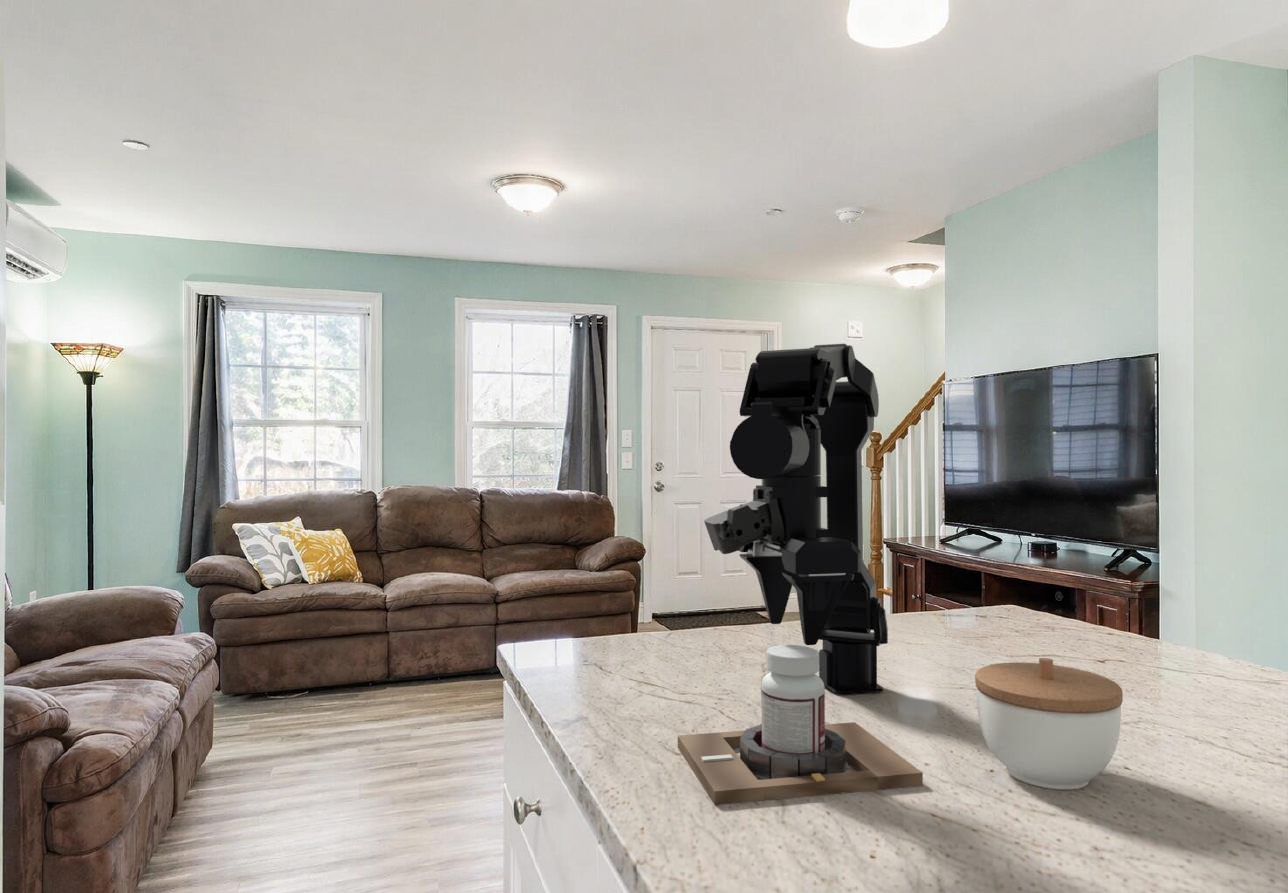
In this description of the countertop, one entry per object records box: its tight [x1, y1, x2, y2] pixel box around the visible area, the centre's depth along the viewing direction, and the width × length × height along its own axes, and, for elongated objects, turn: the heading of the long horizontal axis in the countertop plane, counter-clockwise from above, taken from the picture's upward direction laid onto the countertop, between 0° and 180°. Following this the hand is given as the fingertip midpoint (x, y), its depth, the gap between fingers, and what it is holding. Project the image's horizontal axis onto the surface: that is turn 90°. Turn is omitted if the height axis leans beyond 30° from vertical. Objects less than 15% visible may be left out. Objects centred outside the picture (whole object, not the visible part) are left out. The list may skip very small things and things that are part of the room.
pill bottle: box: [760, 644, 826, 755], centre depth 80 cm, size 6×6×11 cm
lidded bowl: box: [974, 657, 1124, 791], centre depth 77 cm, size 13×13×11 cm
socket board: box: [677, 721, 924, 806], centre depth 80 cm, size 20×14×2 cm
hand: (791, 633), depth 80 cm, fingers open, 9 cm apart
